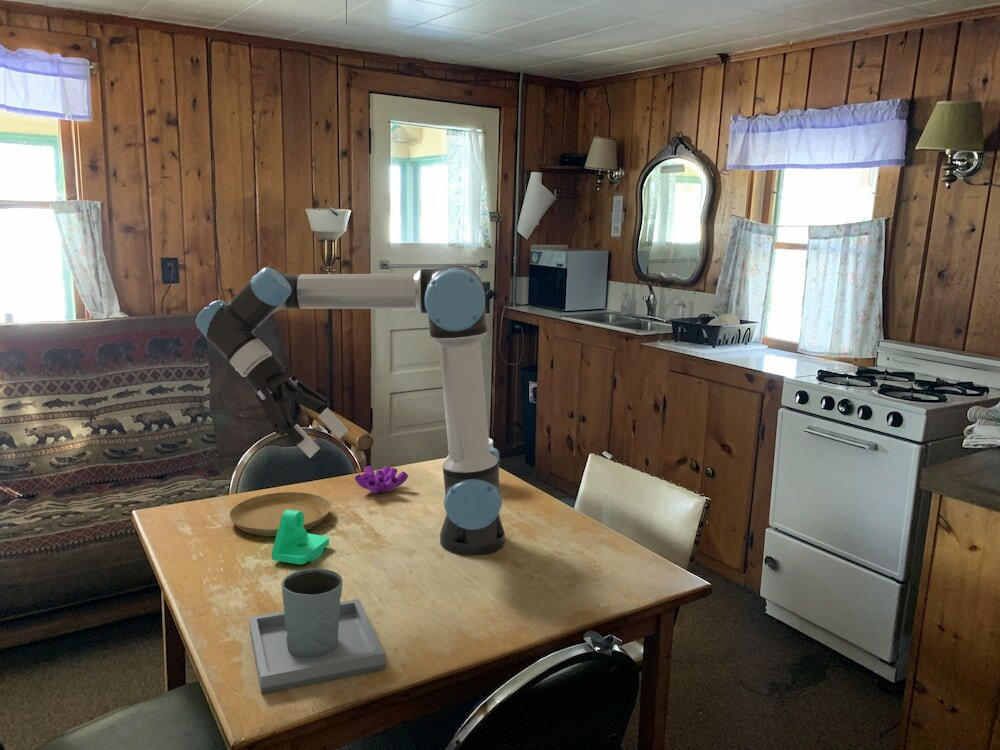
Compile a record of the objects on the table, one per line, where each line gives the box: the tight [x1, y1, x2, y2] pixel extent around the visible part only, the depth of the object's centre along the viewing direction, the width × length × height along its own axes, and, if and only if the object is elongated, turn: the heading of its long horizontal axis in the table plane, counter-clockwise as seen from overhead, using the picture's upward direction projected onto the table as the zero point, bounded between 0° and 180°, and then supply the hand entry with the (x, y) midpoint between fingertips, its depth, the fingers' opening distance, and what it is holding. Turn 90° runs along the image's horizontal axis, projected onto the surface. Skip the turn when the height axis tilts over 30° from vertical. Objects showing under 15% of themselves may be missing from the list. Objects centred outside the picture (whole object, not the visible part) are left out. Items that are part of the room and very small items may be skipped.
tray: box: [248, 598, 386, 695], centre depth 136 cm, size 20×20×3 cm
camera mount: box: [271, 509, 330, 565], centre depth 173 cm, size 12×8×10 cm, turn 163°
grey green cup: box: [281, 568, 343, 658], centre depth 135 cm, size 10×10×12 cm
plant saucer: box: [228, 491, 332, 537], centre depth 193 cm, size 24×24×3 cm
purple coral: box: [354, 465, 409, 494], centre depth 214 cm, size 11×15×10 cm
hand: (330, 443), depth 158 cm, fingers open, 13 cm apart
